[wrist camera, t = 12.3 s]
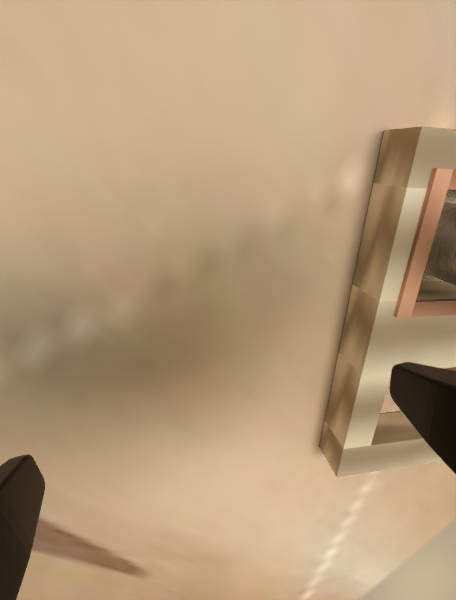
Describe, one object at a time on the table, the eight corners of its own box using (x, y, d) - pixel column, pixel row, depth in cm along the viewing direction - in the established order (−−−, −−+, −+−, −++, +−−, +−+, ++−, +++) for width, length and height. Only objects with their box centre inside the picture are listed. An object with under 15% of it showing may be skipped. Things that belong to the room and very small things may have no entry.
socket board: (430, 431, 31) (460, 461, 28) (319, 446, 29) (338, 480, 26) (536, 142, 22) (598, 140, 19) (384, 130, 19) (426, 126, 16)
